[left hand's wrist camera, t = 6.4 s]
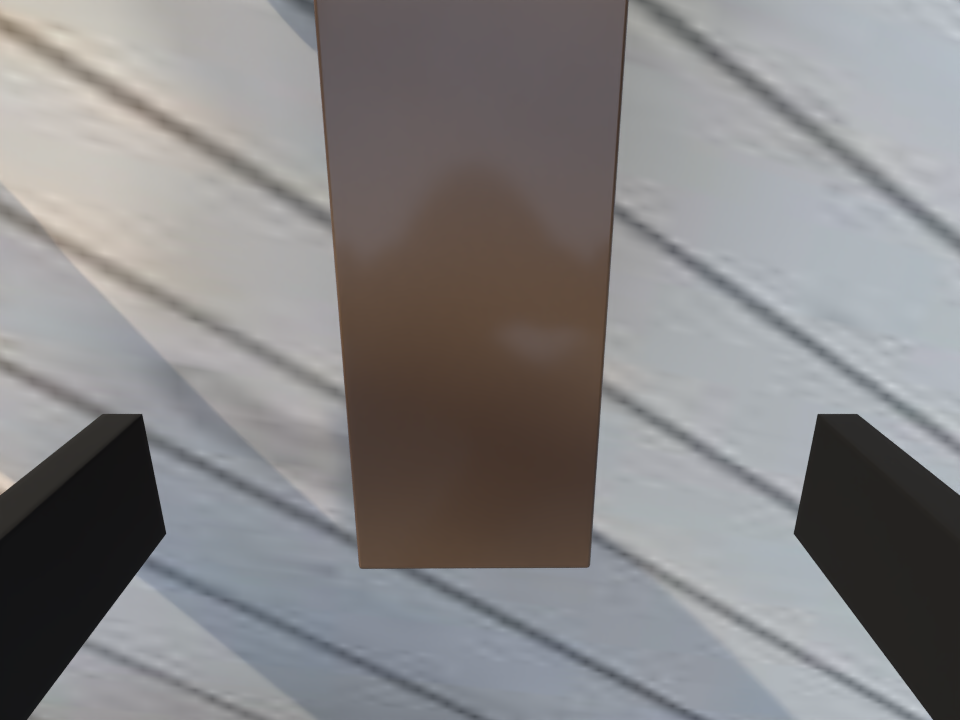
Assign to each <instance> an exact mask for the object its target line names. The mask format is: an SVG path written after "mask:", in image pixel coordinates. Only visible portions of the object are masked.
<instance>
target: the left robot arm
mask: <svg viewBox="0 0 960 720" xmlns="http://www.w3.org/2000/svg"><path fill="white" fill-rule="evenodd" d="M165 535H166V530H165V525H164V520H163V515H162V510H161V505H160V500H159V495H158V490H157V485H156V480H155V475H154V470H153V466H152V461H151V456H150V451H149V446H148V441H147V436H146V431H145V426H144V421H143V416H142V414H102V415H101V416H100V417H98V418H97V419H96V420H95V421H93V422H92V423H91V424H90V425H88V426H87V427H86V428H85V429H83V430H82V431H81V432H80V433H78V434H77V435H76V436H75V437H73V438H72V439H71V440H69V441H68V442H67V443H66V444H64V445H63V446H62V447H61V448H59V449H58V450H57V451H56V452H54V453H53V454H52V455H51V456H49V457H48V458H47V459H46V460H44V461H43V462H42V463H41V464H39V465H38V466H37V467H35V468H34V469H33V470H32V471H30V472H29V473H28V474H27V475H25V476H24V477H23V478H22V479H20V480H19V481H18V482H17V483H15V484H14V485H13V486H12V487H10V488H9V489H8V490H6V491H5V492H4V493H3V494H1V495H0V720H27V719H28V718H29V716H30V715H31V713H32V712H33V711H34V709H35V708H36V707H37V705H38V704H39V703H40V701H41V700H42V699H43V697H44V696H45V695H46V693H47V692H48V691H49V689H50V688H51V687H52V685H53V684H54V683H55V681H56V680H57V679H58V677H59V676H60V675H61V673H62V672H63V671H64V669H65V668H66V667H67V665H68V664H69V663H70V661H71V660H72V659H73V657H74V656H75V655H76V653H77V652H78V651H79V649H80V648H81V647H82V645H83V644H84V643H85V641H86V640H87V639H88V637H89V636H90V635H91V633H92V632H93V631H94V629H95V628H96V627H97V625H98V624H99V623H100V621H101V620H102V619H103V617H104V616H105V615H106V613H107V612H108V611H109V609H110V608H111V607H112V605H113V604H114V603H115V601H116V600H117V599H118V597H119V596H120V595H121V593H122V592H123V591H124V589H125V588H126V587H127V585H128V584H129V583H130V581H131V580H132V579H133V577H134V576H135V575H136V573H137V572H138V571H139V569H140V568H141V567H142V565H143V564H144V563H145V561H146V560H147V559H148V557H149V556H150V555H151V553H152V552H153V551H154V549H155V548H156V547H157V545H158V544H159V543H160V541H161V540H162V539H163V537H164V536H165ZM794 535H795V536H796V537H797V539H798V540H799V541H800V543H801V544H802V545H803V547H804V548H805V549H806V551H807V552H808V553H809V555H810V556H811V557H812V559H813V560H814V561H815V563H816V564H817V565H818V567H819V568H820V569H821V571H822V572H823V573H824V575H825V576H826V577H827V579H828V580H829V581H830V583H831V584H832V585H833V587H834V588H835V589H836V591H837V592H838V593H839V595H840V596H841V597H842V599H843V600H844V601H845V603H846V604H847V605H848V607H849V608H850V609H851V611H852V612H853V613H854V615H855V616H856V617H857V619H858V620H859V621H860V623H861V624H862V625H863V627H864V628H865V629H866V631H867V632H868V633H869V635H870V636H871V637H872V639H873V640H874V641H875V643H876V644H877V645H878V647H879V648H880V649H881V651H882V652H883V653H884V655H885V656H886V657H887V659H888V660H889V661H890V663H891V664H892V665H893V667H894V668H895V669H896V671H897V672H898V673H899V675H900V676H901V677H902V679H903V680H904V681H905V683H906V684H907V685H908V687H909V688H910V689H911V691H912V692H913V693H914V695H915V696H916V697H917V699H918V700H919V701H920V703H921V704H922V705H923V707H924V708H925V709H926V711H927V712H928V713H929V715H930V716H931V718H932V719H933V720H960V495H959V494H957V493H956V492H955V491H954V490H952V489H951V488H950V487H948V486H947V485H946V484H945V483H943V482H942V481H941V480H940V479H938V478H937V477H936V476H935V475H933V474H932V473H931V472H930V471H928V470H927V469H926V468H925V467H923V466H922V465H921V464H919V463H918V462H917V461H916V460H914V459H913V458H912V457H911V456H909V455H908V454H907V453H906V452H904V451H903V450H902V449H901V448H899V447H898V446H897V445H896V444H894V443H893V442H892V441H891V440H889V439H888V438H887V437H885V436H884V435H883V434H882V433H880V432H879V431H878V430H877V429H875V428H874V427H873V426H872V425H870V424H869V423H868V422H867V421H865V420H864V419H863V418H862V417H860V416H859V415H858V414H818V416H817V421H816V426H815V431H814V436H813V441H812V446H811V451H810V456H809V461H808V466H807V470H806V475H805V480H804V485H803V490H802V495H801V500H800V505H799V510H798V515H797V520H796V525H795V530H794Z"/></svg>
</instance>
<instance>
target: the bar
mask: <svg viewBox="0 0 960 720" xmlns="http://www.w3.org/2000/svg"><path fill="white" fill-rule="evenodd" d="M628 2H629V0H314V11H315V24H316V36H317V49H318V61H319V74H320V86H321V98H322V111H323V123H324V136H325V148H326V161H327V173H328V185H329V198H330V210H331V223H332V235H333V248H334V260H335V273H336V285H337V297H338V310H339V322H340V335H341V347H342V360H343V372H344V384H345V397H346V409H347V422H348V434H349V447H350V459H351V471H352V484H353V496H354V509H355V521H356V534H357V546H358V559H359V567H360V568H361V569H408V568H587V567H589V566H590V557H591V543H592V528H593V514H594V499H595V484H596V470H597V455H598V441H599V426H600V411H601V397H602V382H603V368H604V353H605V338H606V324H607V309H608V295H609V280H610V265H611V251H612V236H613V221H614V207H615V192H616V178H617V163H618V148H619V134H620V119H621V105H622V90H623V75H624V61H625V46H626V32H627V17H628Z"/></svg>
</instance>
